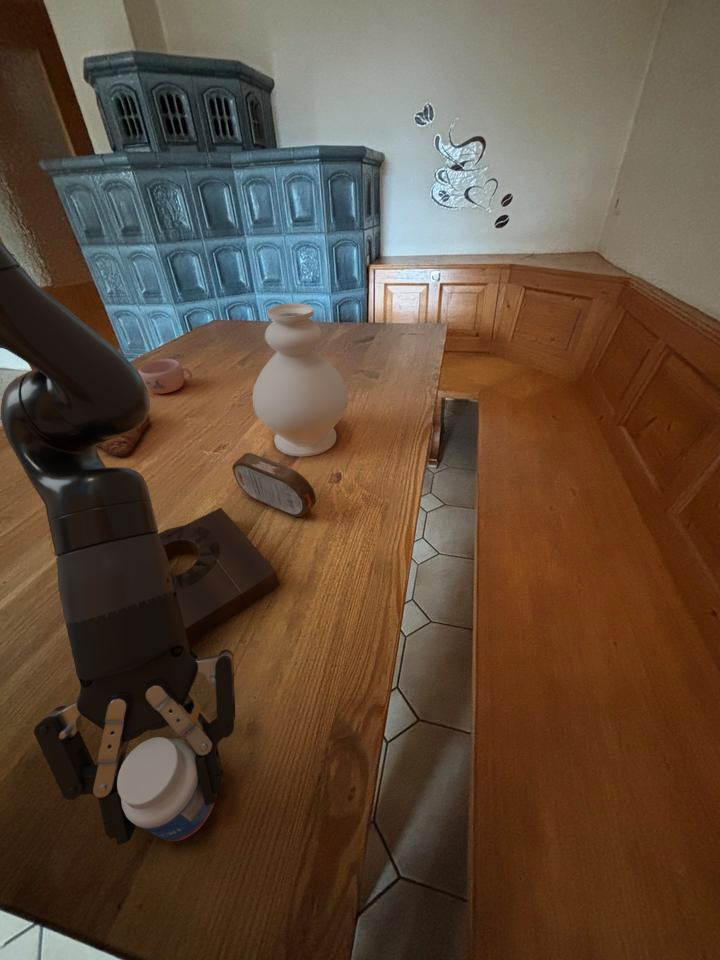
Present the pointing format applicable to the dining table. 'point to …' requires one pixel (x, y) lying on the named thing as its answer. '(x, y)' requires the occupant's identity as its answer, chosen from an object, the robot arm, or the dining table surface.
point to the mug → (163, 375)
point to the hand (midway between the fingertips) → (171, 814)
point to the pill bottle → (163, 789)
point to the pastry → (124, 441)
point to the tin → (274, 484)
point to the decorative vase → (298, 385)
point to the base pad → (216, 572)
